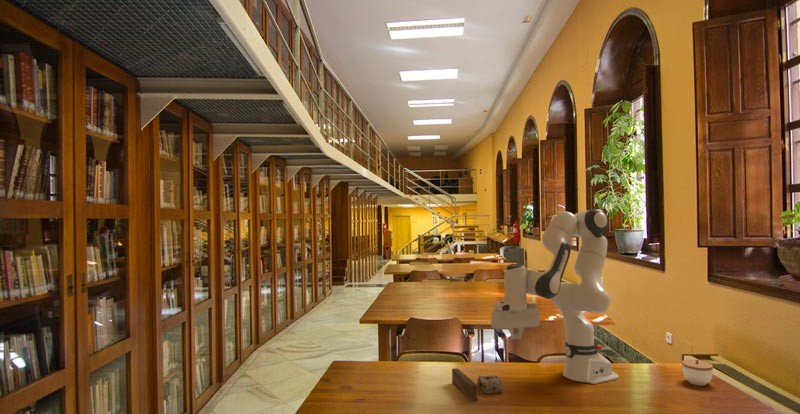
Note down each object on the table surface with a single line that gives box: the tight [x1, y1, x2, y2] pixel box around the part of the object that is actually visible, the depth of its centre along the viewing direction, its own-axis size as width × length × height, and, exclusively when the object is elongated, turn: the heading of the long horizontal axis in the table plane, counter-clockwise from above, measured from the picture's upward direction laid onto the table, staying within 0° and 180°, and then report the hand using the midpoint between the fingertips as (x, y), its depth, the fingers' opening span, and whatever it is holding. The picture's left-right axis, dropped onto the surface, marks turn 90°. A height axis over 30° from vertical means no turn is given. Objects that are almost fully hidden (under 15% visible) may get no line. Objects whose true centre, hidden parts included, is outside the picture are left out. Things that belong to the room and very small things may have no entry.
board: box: [451, 368, 479, 403], centre depth 182 cm, size 2×20×6 cm, turn 14°
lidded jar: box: [681, 358, 714, 386], centre depth 190 cm, size 11×11×9 cm
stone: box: [476, 375, 504, 394], centre depth 185 cm, size 13×6×10 cm
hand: (516, 338), depth 188 cm, fingers closed
